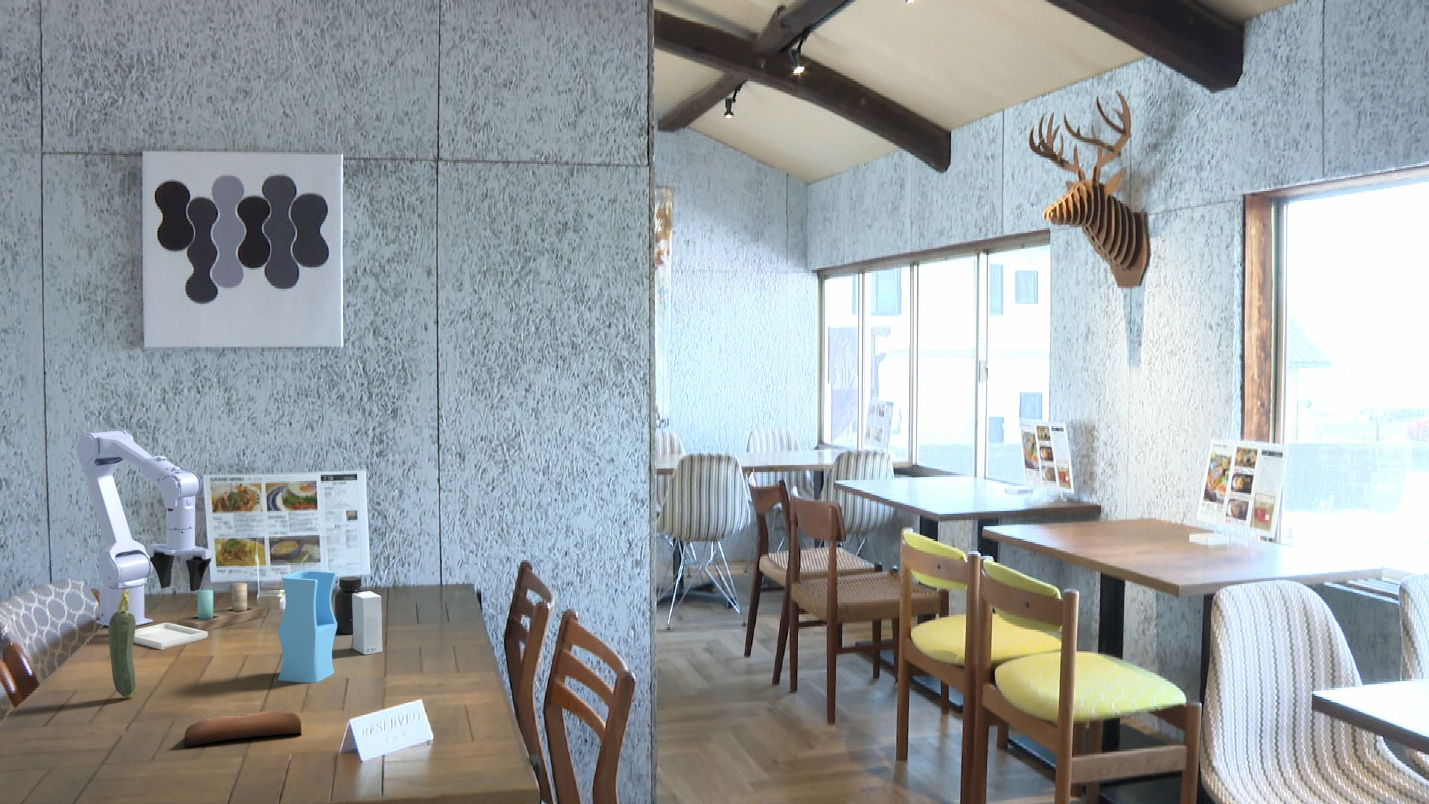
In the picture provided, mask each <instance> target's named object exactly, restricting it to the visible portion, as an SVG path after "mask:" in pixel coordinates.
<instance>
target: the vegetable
mask: <svg viewBox="0 0 1429 804" xmlns="http://www.w3.org/2000/svg"><path fill="white" fill-rule="evenodd" d="M128 608H129V594H128V590H126V589H124V592H123V593H122V595H121V600H120V601H119V604H118V607H117V609H118V612H116V613H115V614H114V615H113V616H112V617H111V619H110V623H109V626H108V646H109V655H110V664H111V666H110V667H111V674H112V680H113V681H112V682H113V686H114V688H115V691H116V692H117V694H120V695H121V696H122V698H123V699H125V700H126V699H129V698H130V699H132V698H133V695H135V694H136V689H135V688H136V685H137V684H136V673H135V672H136V671H135V665H134V659H133V657H134V656H133V648H134V643H133V640H134V635H135V630H136V621H135V618H134V616H133V615H132V614H131V613H130V612H129V611H127V610H128Z"/></svg>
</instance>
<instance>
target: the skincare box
mask: <svg viewBox="0 0 1429 804" xmlns="http://www.w3.org/2000/svg"><path fill="white" fill-rule="evenodd" d="M352 607H353V634H352V636H353V638H352V639H353V650H355V651H357V652H359V653H361V654H363V655H373V654H378V653H382V652H383V627H382V626H383V625H382V623H383V621H382V619H383V616H382V596H381V595H379V594H377V593H375V592H373V591H370V590H369V591H364V592H360V593H354V594H352Z"/></svg>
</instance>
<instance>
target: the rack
mask: <svg viewBox="0 0 1429 804" xmlns="http://www.w3.org/2000/svg"><path fill="white" fill-rule="evenodd" d="M266 616H267V608H266V607H262V606H257V605H254V604H248V603H247V611H244V612H239V613H236V612H232V606H231V607H227V608H223V609H222V608H221V609H218V610H213V619H209V620H205V621H201V620H198V614H195V615H191V616H186V617H181V618H178V619H177V625H181V626H185V627H189V628H194V629H198V630H202V631H207V632H208V631H211V630H214V629H219V628H223V627H227V626H231V625H237V624H240V623H244V622H249V621H252V620H256V619H260V618H266Z"/></svg>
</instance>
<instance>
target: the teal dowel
mask: <svg viewBox="0 0 1429 804" xmlns="http://www.w3.org/2000/svg"><path fill="white" fill-rule="evenodd" d="M213 611H214V590H212V589H202V590H197V615H198V620H201V621H205V620H209V619H213Z"/></svg>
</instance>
